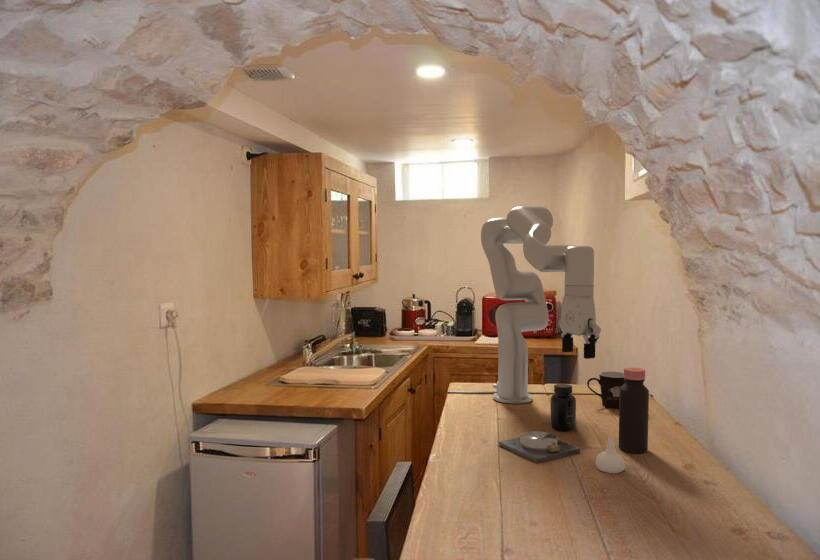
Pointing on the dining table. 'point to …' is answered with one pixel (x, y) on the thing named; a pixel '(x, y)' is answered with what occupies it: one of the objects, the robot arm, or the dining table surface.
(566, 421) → the supplement bottle
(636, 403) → the vinegar
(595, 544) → the dining table surface
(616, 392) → the coffee mug
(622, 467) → the garlic bulb
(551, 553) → the dining table surface
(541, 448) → the dish on grey tray
